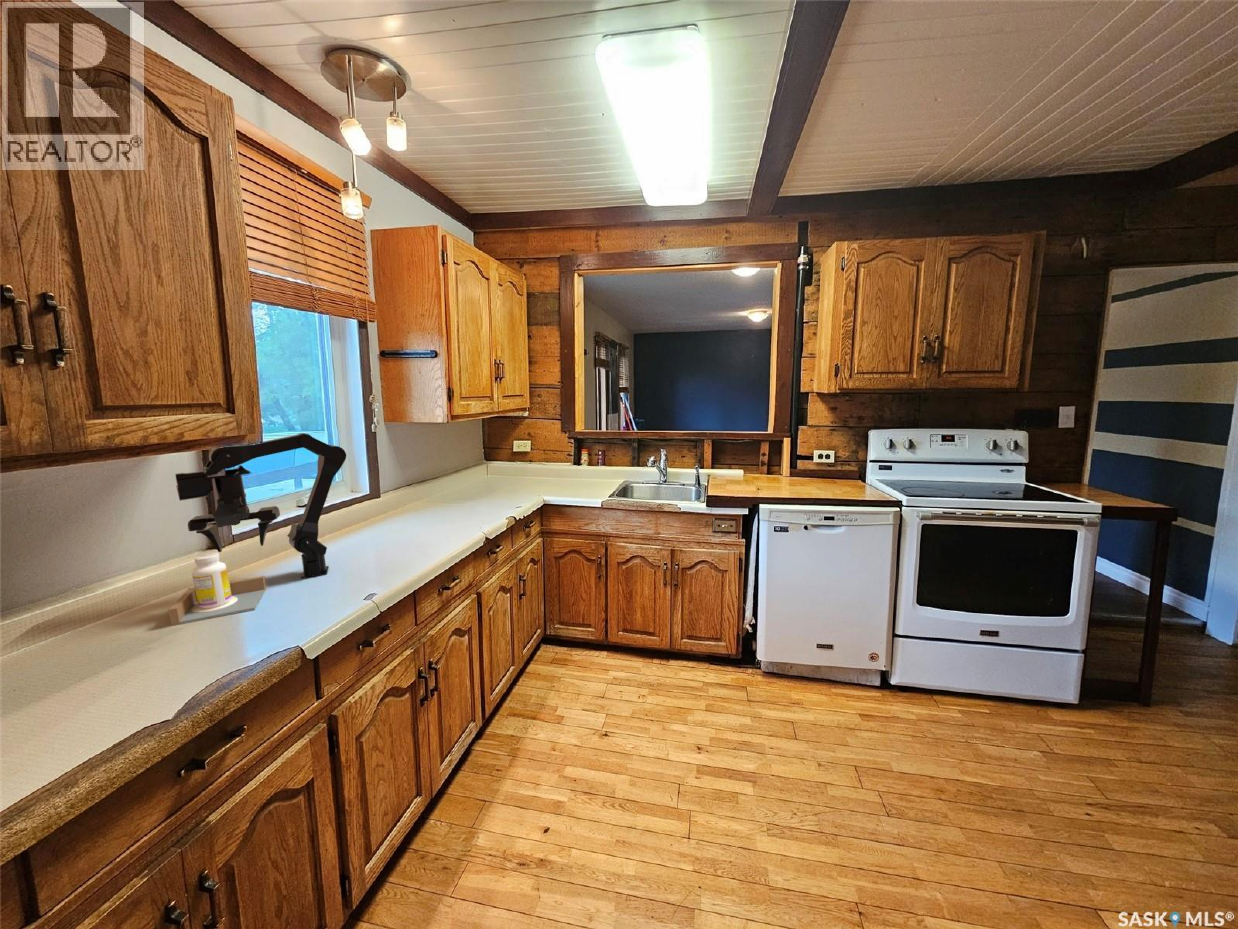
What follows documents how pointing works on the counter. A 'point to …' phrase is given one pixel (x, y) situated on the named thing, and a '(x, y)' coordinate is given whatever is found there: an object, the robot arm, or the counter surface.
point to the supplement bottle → (211, 581)
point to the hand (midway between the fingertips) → (241, 548)
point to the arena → (243, 600)
